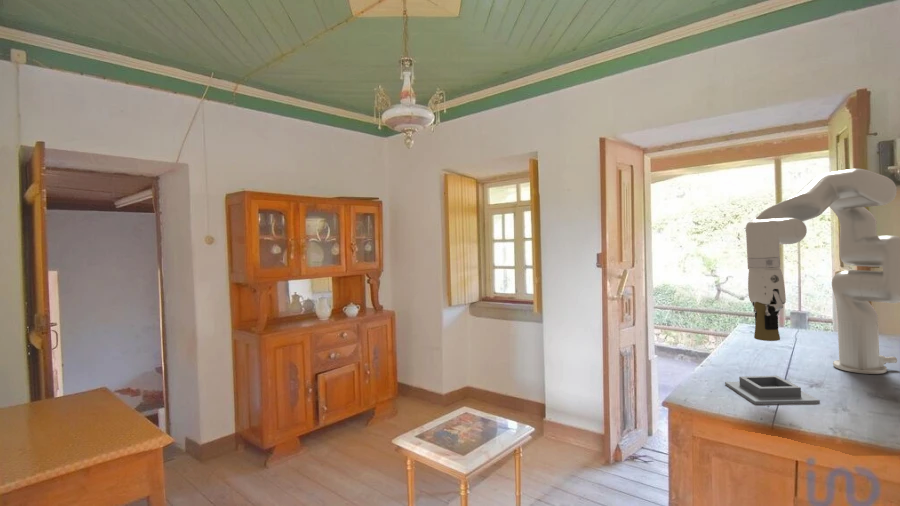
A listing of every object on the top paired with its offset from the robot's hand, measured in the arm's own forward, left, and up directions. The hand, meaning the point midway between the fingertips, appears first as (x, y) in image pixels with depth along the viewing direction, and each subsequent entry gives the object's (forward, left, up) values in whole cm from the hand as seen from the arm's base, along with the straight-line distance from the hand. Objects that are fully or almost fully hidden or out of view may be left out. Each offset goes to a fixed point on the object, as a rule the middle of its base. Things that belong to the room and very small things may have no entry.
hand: (766, 327), depth 124 cm
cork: (0, 0, -3) cm, 3 cm away
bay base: (0, 0, -19) cm, 19 cm away
